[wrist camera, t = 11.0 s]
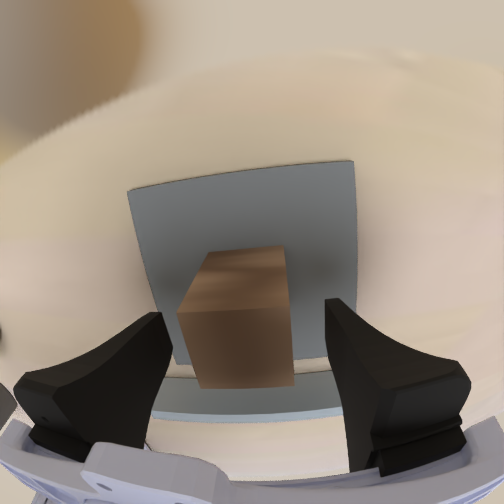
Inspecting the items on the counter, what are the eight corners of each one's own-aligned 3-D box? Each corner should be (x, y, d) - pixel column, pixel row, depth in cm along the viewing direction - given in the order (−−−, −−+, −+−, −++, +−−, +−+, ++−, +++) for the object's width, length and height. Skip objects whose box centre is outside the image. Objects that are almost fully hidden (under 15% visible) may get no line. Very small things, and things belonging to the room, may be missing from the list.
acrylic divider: (166, 385, 21) (153, 418, 17) (162, 377, 20) (148, 410, 17) (373, 373, 19) (385, 407, 16) (375, 363, 19) (387, 398, 15)
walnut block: (221, 314, 17) (200, 388, 11) (208, 252, 16) (176, 312, 10) (288, 310, 17) (294, 385, 11) (283, 245, 15) (289, 305, 10)
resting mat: (178, 359, 19) (176, 364, 19) (131, 189, 15) (126, 191, 15) (351, 347, 18) (352, 352, 18) (350, 160, 14) (353, 161, 13)
